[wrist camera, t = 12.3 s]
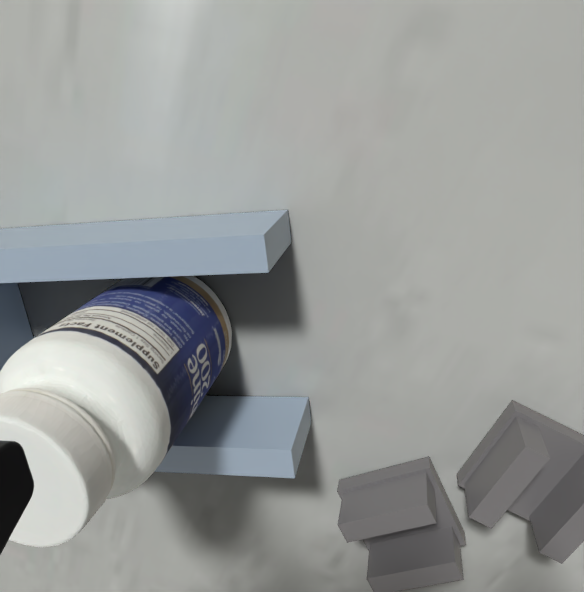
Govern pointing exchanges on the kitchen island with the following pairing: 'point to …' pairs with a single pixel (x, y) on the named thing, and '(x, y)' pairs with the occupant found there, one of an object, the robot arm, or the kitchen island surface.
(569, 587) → the kitchen island surface
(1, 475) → the robot arm
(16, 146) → the kitchen island surface
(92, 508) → the pill bottle
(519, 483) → the clip
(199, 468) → the end holder
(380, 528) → the clip
